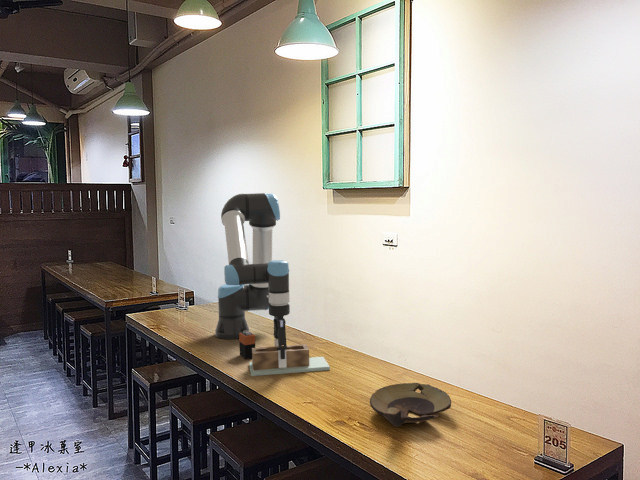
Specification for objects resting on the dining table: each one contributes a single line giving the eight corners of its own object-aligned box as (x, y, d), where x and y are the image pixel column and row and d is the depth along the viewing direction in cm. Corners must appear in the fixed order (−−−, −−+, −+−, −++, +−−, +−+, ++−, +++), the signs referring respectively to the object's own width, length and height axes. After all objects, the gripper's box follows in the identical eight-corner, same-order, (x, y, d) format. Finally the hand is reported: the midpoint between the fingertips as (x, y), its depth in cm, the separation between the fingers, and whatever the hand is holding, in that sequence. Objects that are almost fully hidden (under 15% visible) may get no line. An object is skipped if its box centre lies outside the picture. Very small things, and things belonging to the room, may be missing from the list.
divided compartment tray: (253, 370, 188) (253, 353, 187) (252, 364, 195) (251, 348, 194) (309, 365, 192) (309, 349, 191) (306, 360, 199) (306, 344, 198)
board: (251, 376, 186) (250, 364, 185) (249, 365, 197) (248, 354, 197) (329, 369, 191) (329, 358, 190) (323, 359, 202) (323, 348, 202)
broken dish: (468, 414, 151) (468, 387, 151) (399, 448, 132) (399, 418, 131) (406, 392, 168) (406, 369, 167) (337, 420, 148) (337, 394, 148)
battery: (245, 359, 204) (244, 334, 203) (239, 355, 210) (238, 330, 209) (256, 357, 206) (255, 332, 205) (249, 353, 212) (248, 328, 211)
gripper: (265, 297, 203) (267, 352, 205) (272, 311, 179) (273, 373, 180) (285, 296, 204) (286, 351, 206) (294, 310, 180) (295, 371, 182)
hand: (280, 361), depth 193 cm, fingers open, 13 cm apart
